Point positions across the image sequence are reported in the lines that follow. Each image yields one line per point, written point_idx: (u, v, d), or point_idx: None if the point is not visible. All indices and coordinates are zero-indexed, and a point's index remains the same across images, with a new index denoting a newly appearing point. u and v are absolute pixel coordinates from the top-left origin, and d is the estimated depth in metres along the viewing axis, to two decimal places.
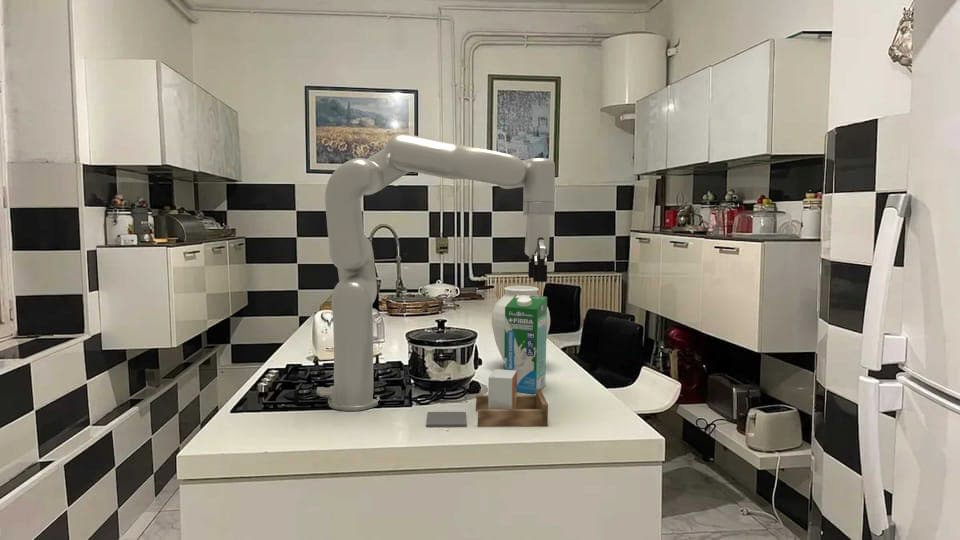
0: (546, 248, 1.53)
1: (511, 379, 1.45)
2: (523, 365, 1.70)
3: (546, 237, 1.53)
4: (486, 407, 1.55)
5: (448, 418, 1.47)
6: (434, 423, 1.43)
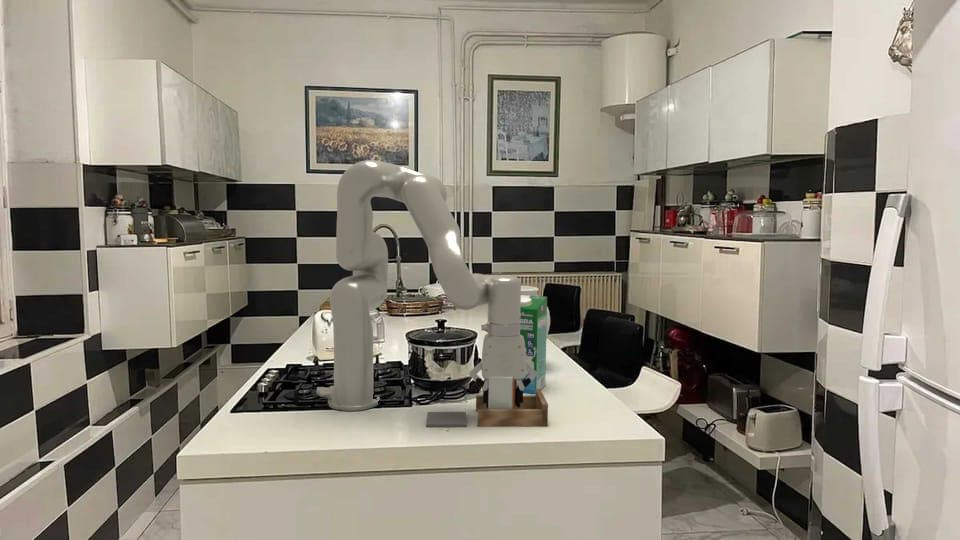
0: None
1: (511, 379, 1.45)
2: None
3: None
4: None
5: (448, 418, 1.47)
6: (434, 423, 1.43)
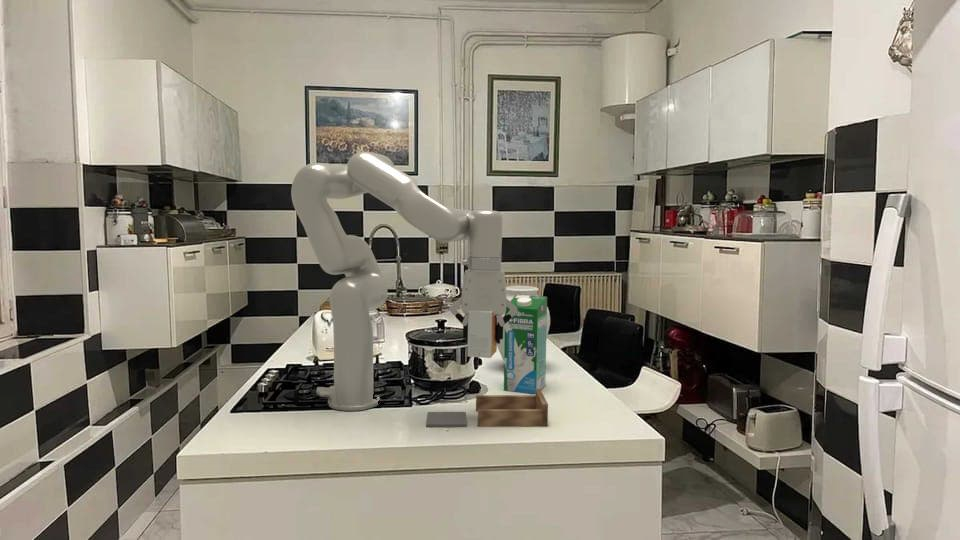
0: None
1: (491, 313, 1.43)
2: (523, 365, 1.70)
3: None
4: (486, 407, 1.55)
5: (448, 418, 1.47)
6: (434, 423, 1.43)
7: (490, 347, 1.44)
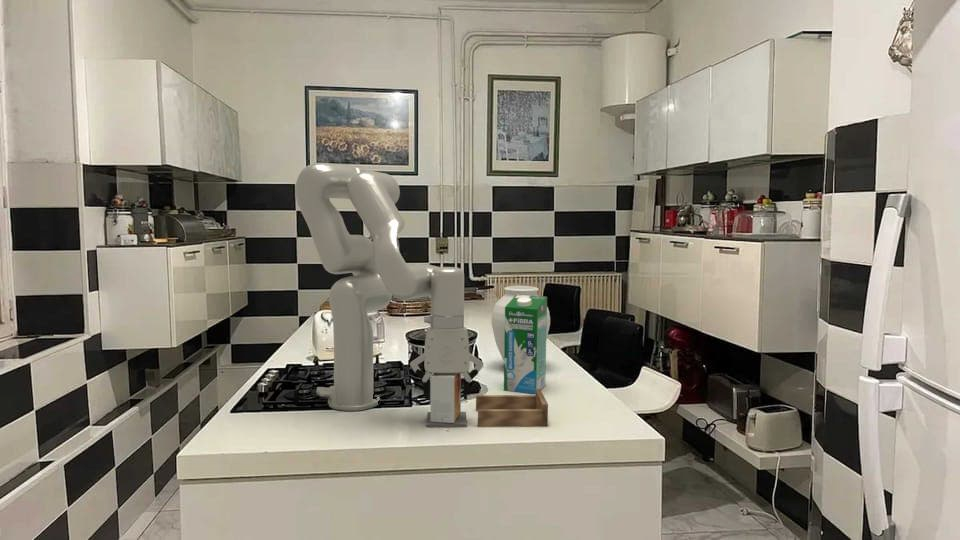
0: None
1: (453, 378, 1.42)
2: (523, 365, 1.70)
3: None
4: (486, 407, 1.55)
5: None
6: (434, 423, 1.43)
7: (453, 412, 1.43)
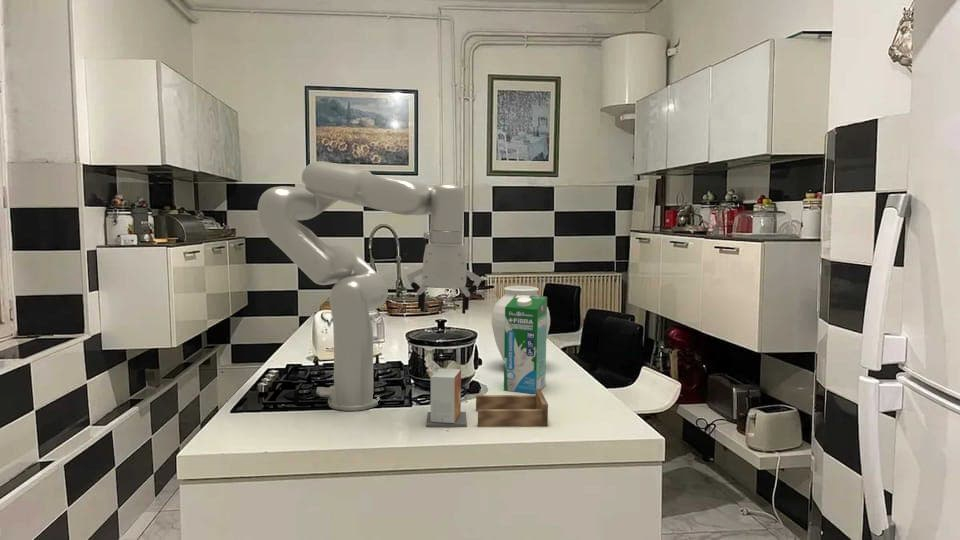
0: None
1: (453, 378, 1.42)
2: (523, 365, 1.70)
3: None
4: (486, 407, 1.55)
5: None
6: (434, 423, 1.43)
7: (453, 412, 1.43)
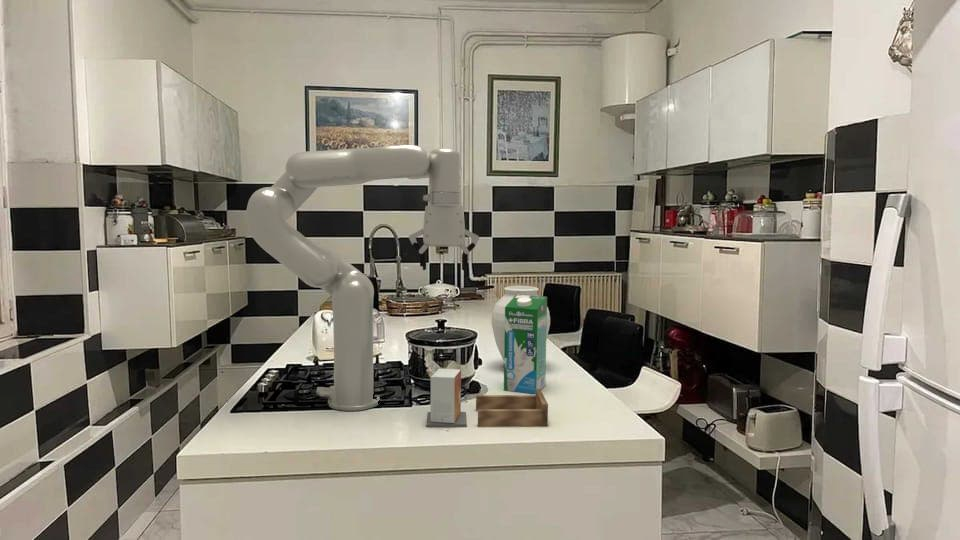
0: None
1: (453, 378, 1.42)
2: (523, 365, 1.70)
3: None
4: (486, 407, 1.55)
5: None
6: (434, 423, 1.43)
7: (453, 412, 1.43)
